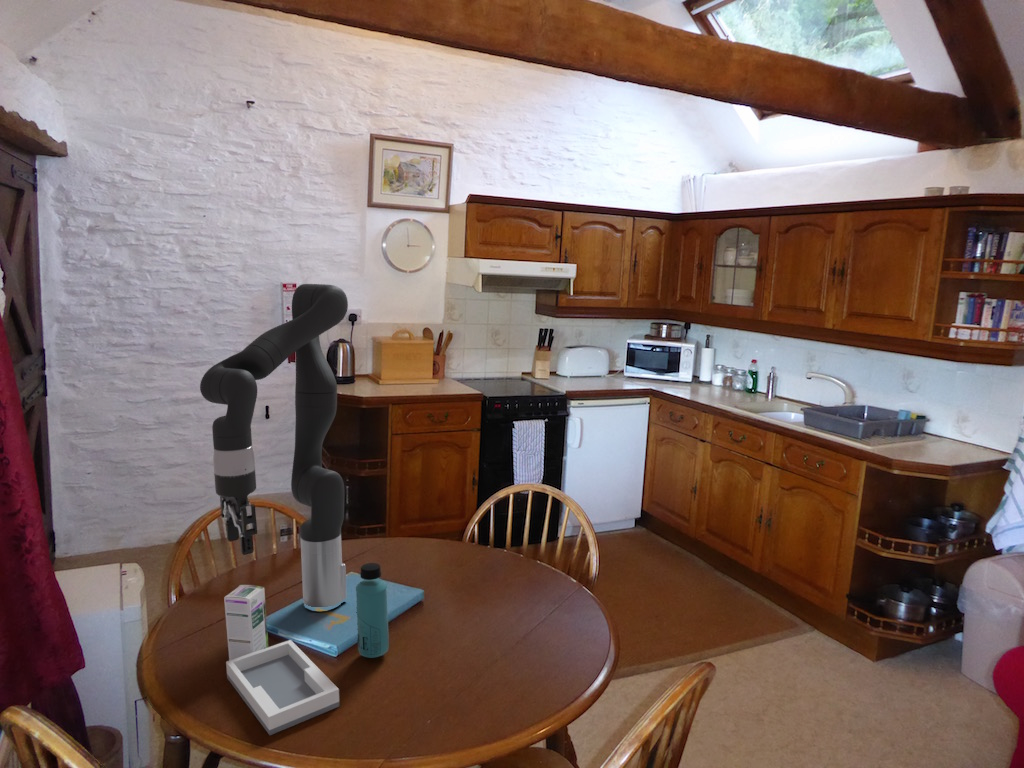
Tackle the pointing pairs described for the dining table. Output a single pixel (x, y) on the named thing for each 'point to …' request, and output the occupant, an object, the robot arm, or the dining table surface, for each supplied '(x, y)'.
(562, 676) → the dining table surface
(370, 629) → the beverage bottle
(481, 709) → the dining table surface
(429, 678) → the dining table surface
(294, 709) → the white shallow tray
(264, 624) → the syrup box
